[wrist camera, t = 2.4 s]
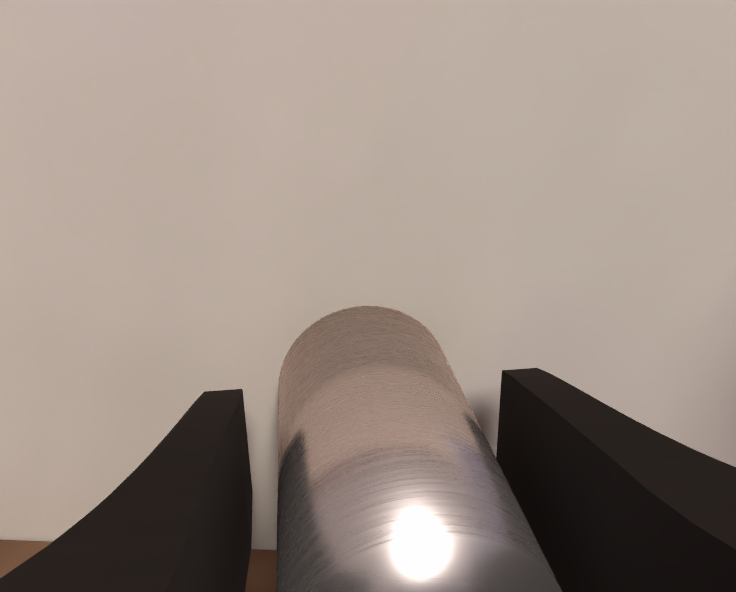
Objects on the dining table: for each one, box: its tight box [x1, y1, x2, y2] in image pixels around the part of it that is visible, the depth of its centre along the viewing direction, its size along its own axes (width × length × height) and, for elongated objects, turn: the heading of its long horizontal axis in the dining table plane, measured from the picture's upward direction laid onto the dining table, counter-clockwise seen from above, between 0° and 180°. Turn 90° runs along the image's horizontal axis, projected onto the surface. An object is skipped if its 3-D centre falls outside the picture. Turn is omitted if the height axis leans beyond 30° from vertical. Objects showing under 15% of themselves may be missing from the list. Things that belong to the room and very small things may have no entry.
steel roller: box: [276, 306, 562, 592], centre depth 10 cm, size 3×3×6 cm
